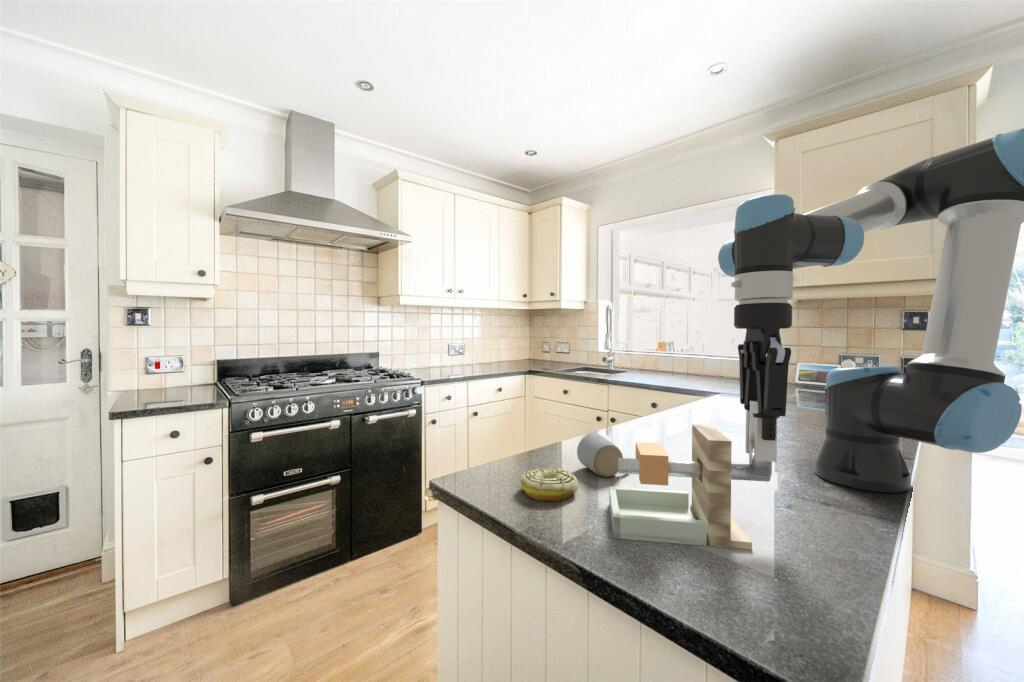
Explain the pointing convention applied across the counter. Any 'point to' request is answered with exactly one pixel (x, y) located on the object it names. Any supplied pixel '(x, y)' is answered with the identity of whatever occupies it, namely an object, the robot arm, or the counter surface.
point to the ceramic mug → (599, 455)
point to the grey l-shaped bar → (695, 469)
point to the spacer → (652, 463)
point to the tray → (654, 516)
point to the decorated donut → (549, 484)
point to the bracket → (715, 488)
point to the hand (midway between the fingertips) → (760, 456)
